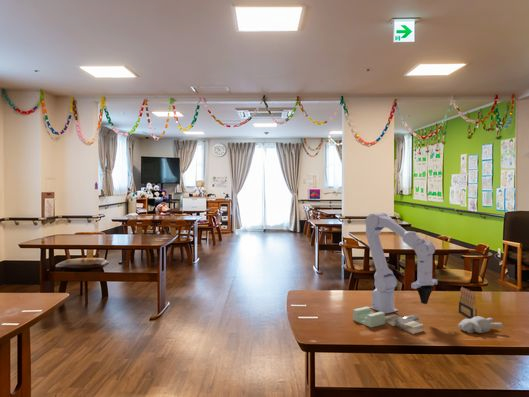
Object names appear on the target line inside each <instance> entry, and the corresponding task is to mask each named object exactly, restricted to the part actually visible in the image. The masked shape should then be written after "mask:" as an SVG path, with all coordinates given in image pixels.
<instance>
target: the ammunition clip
mask: <svg viewBox="0 0 529 397" xmlns="http://www.w3.org/2000/svg"><path fill="white" fill-rule="evenodd" d="M459 294H460V295H459V301H458V314H460V315H462V316H463V317H465V318H466V319H472V318H473V317H476V316H478V315H477V314H478V313H477V310H478V309H477V307H476V306H477V304H476V303H477V300H476V294H475V292H474V291H472V290H471V291H470V289H468V288H465V287H463V286H461V288H460V293H459Z"/></svg>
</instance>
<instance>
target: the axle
mask: <svg viewBox="0 0 529 397" xmlns="http://www.w3.org/2000/svg"><path fill="white" fill-rule="evenodd" d="M401 317H402V318H399V319H397V320H396V325H395V326H397V328H399V329H401V330H402V329H403V330H404V324H405V323H408V322H412V321H415V322H418V323H420V318H419V317H418V315H416V314H411V315H406V316H404V317H403V316H401Z"/></svg>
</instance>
